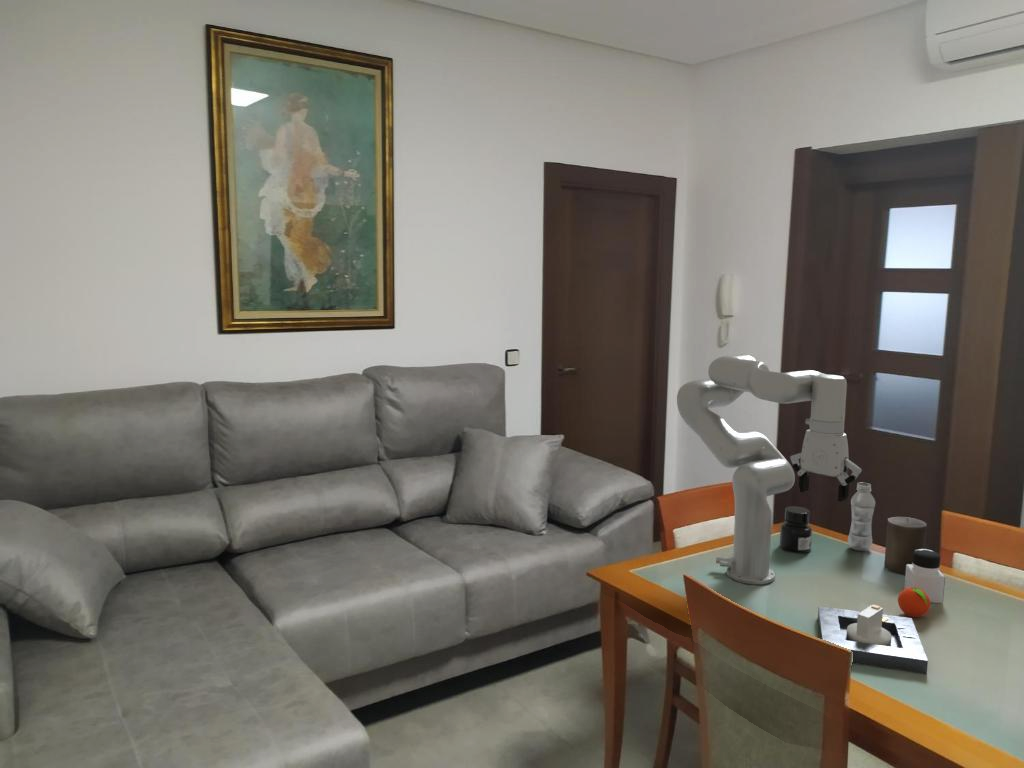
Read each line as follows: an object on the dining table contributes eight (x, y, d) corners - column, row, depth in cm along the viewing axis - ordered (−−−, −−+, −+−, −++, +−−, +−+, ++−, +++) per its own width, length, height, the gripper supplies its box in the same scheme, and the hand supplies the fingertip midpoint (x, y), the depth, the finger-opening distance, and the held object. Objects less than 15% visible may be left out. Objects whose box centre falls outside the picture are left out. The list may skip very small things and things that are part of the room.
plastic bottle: (842, 545, 228) (847, 481, 225) (864, 545, 228) (869, 480, 225) (854, 553, 221) (858, 487, 218) (876, 553, 222) (881, 487, 219)
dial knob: (879, 652, 163) (882, 623, 162) (839, 637, 170) (841, 608, 168) (898, 639, 168) (900, 610, 167) (858, 625, 175) (859, 597, 174)
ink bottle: (807, 556, 220) (809, 517, 218) (775, 550, 224) (777, 511, 222) (814, 546, 228) (816, 507, 226) (784, 540, 232) (786, 503, 231)
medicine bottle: (943, 603, 189) (947, 558, 187) (912, 601, 190) (916, 556, 188) (933, 591, 196) (937, 547, 194) (903, 589, 197) (907, 545, 195)
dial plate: (822, 658, 163) (823, 644, 163) (817, 617, 182) (818, 605, 181) (926, 674, 157) (927, 659, 156) (910, 630, 175) (911, 617, 175)
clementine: (939, 623, 179) (941, 594, 178) (912, 625, 178) (915, 597, 177) (916, 608, 187) (918, 580, 185) (890, 610, 185) (892, 582, 184)
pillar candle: (921, 578, 204) (926, 525, 202) (881, 571, 209) (885, 518, 207) (924, 567, 212) (928, 515, 210) (885, 560, 217) (889, 509, 215)
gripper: (785, 423, 185) (781, 491, 188) (855, 435, 172) (850, 507, 175) (800, 419, 190) (797, 485, 193) (870, 430, 177) (865, 500, 180)
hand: (822, 495), depth 184 cm, fingers open, 9 cm apart
